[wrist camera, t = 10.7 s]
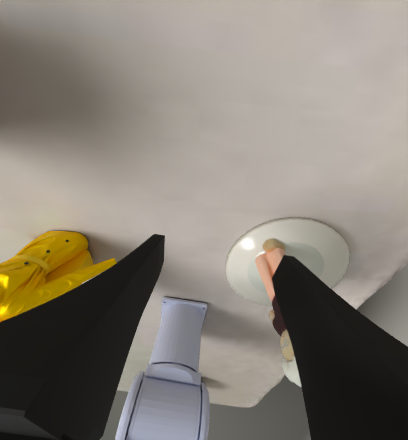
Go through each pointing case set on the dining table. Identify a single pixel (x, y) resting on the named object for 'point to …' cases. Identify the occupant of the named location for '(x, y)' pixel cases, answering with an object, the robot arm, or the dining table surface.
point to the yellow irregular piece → (46, 271)
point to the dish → (294, 246)
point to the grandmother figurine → (266, 270)
